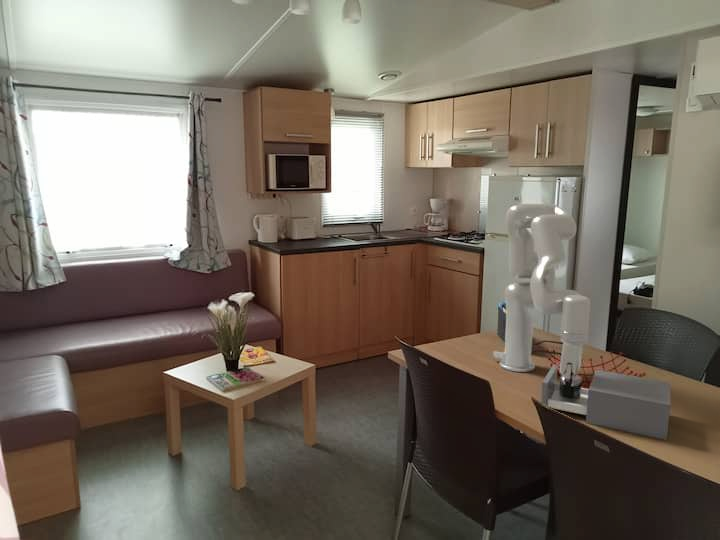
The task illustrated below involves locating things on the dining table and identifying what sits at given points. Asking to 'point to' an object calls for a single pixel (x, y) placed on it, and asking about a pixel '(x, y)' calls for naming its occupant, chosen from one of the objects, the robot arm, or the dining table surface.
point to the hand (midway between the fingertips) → (569, 392)
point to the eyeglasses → (547, 351)
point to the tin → (576, 383)
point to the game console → (501, 321)
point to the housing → (629, 403)
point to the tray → (555, 400)
